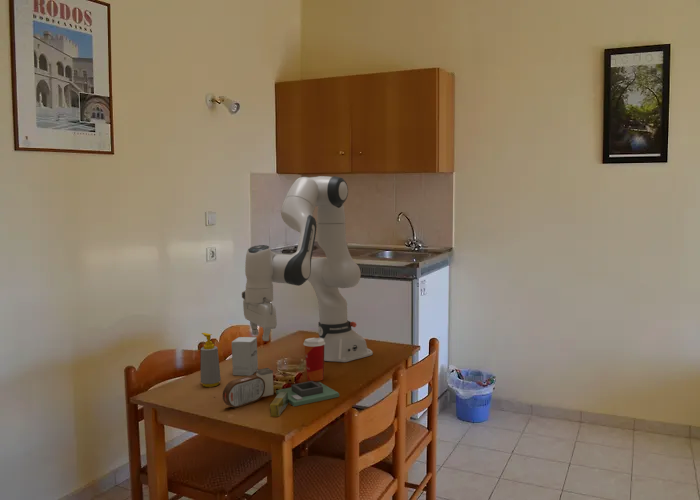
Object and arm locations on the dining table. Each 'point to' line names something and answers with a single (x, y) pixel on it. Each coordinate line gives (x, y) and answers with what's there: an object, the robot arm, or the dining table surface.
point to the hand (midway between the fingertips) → (260, 337)
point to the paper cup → (314, 358)
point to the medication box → (279, 404)
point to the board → (308, 393)
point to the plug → (266, 380)
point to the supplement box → (244, 356)
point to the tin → (243, 391)
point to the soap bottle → (209, 363)
